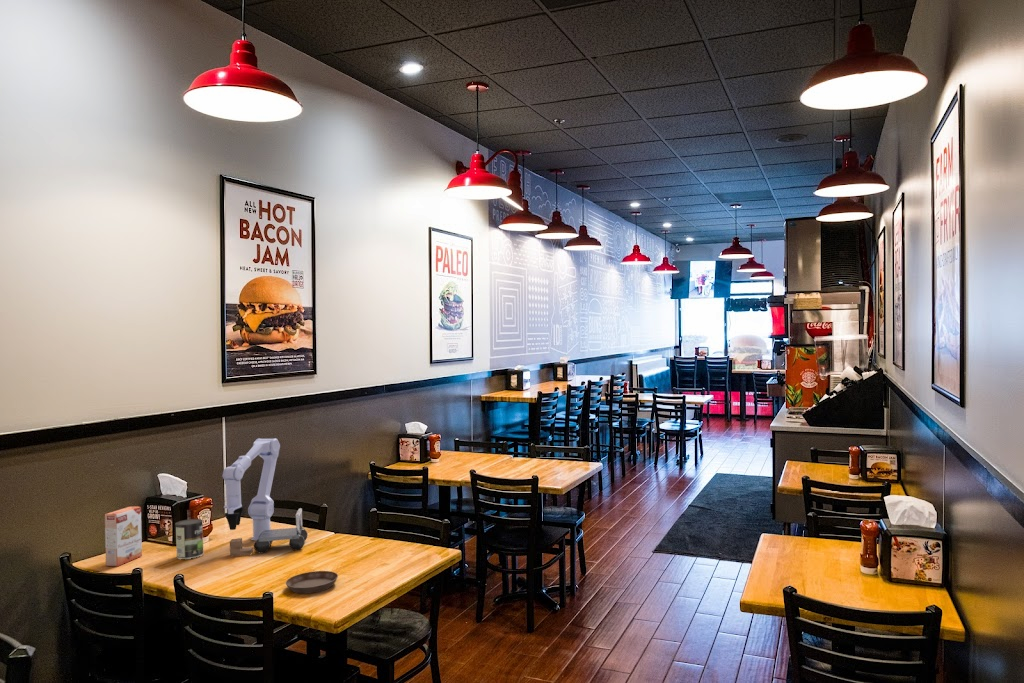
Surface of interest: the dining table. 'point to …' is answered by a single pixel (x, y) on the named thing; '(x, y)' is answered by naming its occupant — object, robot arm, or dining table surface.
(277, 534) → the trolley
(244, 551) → the brown l-shaped block
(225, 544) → the dining table surface
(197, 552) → the coffee can
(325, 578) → the plant saucer
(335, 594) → the dining table surface
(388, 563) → the dining table surface
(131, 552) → the cracker box
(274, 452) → the robot arm
